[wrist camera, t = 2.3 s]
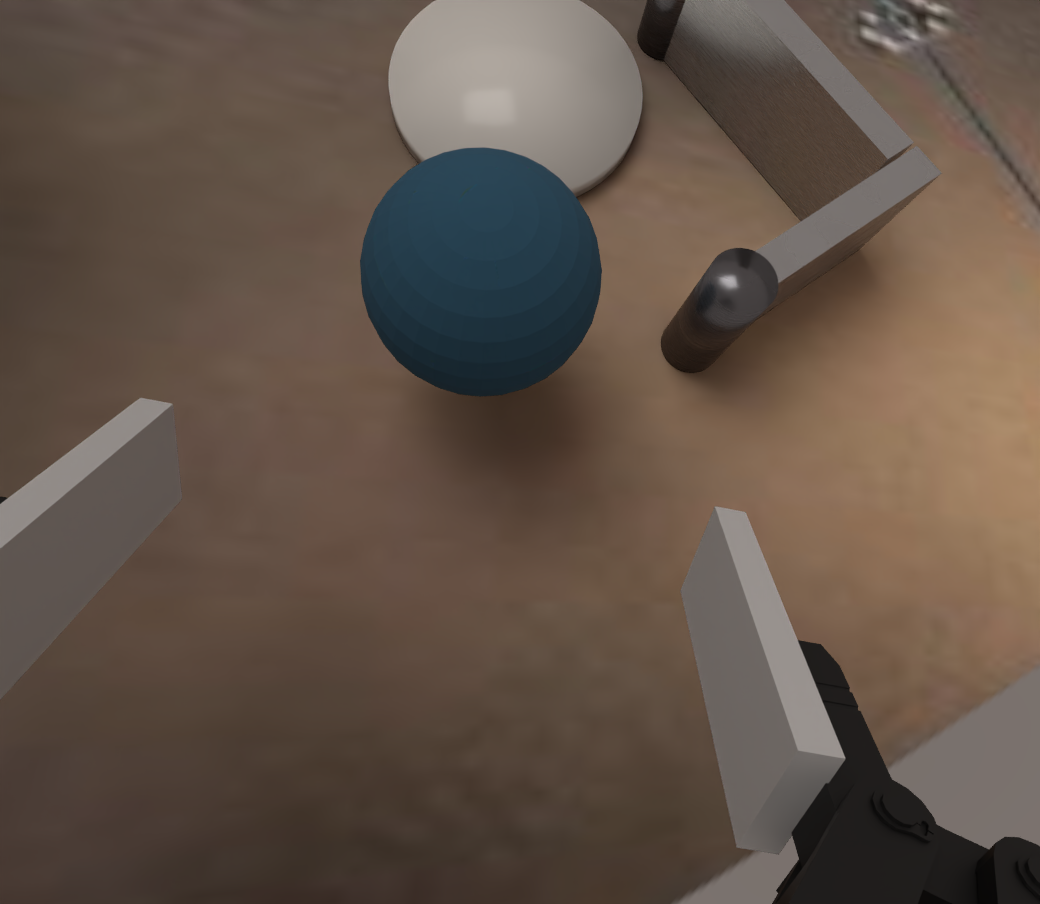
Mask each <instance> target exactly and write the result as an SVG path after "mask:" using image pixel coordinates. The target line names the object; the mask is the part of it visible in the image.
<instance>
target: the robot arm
mask: <svg viewBox="0 0 1040 904" xmlns="http://www.w3.org/2000/svg"><path fill="white" fill-rule="evenodd" d="M181 500H182V491H181V481H180V471H179V460H178V450H177V440H176V429H175V419H174V409H173V404H171V403H166V402H160V401H155V400H150V399H144V398H139V399H138V400H137V401H135V402H134V403H133V404H131V405H130V406H129V407H127V408H126V409H125V410H124V411H122V412H121V413H120V414H118V415H117V416H116V417H114V418H113V419H112V420H110V421H109V422H108V423H106V424H105V425H104V426H102V427H101V428H100V429H99V430H97V431H96V432H95V433H93V434H92V435H91V436H89V437H88V438H87V439H85V440H84V441H83V442H81V443H80V444H79V445H77V446H76V447H75V448H73V449H72V450H71V451H70V452H68V453H67V454H66V455H64V456H63V457H62V458H60V459H59V460H58V461H56V462H55V463H54V464H52V465H51V466H50V467H48V468H47V469H46V470H44V471H43V472H42V473H41V474H39V475H38V476H37V477H35V478H34V479H33V480H31V481H30V482H29V483H27V484H26V485H25V486H23V487H22V488H21V489H19V490H18V491H17V492H16V493H14V494H13V495H12V496H10V497H9V498H6V497H0V700H1V699H2V697H3V696H4V695H5V694H6V693H7V692H8V691H9V690H10V689H11V687H12V686H13V685H14V684H15V683H16V682H17V681H18V680H19V679H20V678H21V676H22V675H23V674H24V673H25V672H26V671H27V670H28V669H29V668H30V666H31V665H32V664H33V663H34V662H35V661H36V660H37V659H38V658H39V657H40V655H41V654H42V653H43V652H44V651H45V650H46V649H47V648H48V647H49V646H50V644H51V643H52V642H53V641H54V640H55V639H56V638H57V637H58V636H59V634H60V633H61V632H62V631H63V630H64V629H65V628H66V627H67V626H68V625H69V623H70V622H71V621H72V620H73V619H74V618H75V617H76V616H77V615H78V613H79V612H80V611H81V610H82V609H83V608H84V607H85V606H86V605H87V604H88V602H89V601H90V600H91V599H92V598H93V597H94V596H95V595H96V594H97V593H98V591H99V590H100V589H101V588H102V587H103V586H104V585H105V584H106V583H107V581H108V580H109V579H110V578H111V577H112V576H113V575H114V574H115V573H116V572H117V570H118V569H119V568H120V567H121V566H122V565H123V564H124V563H125V562H126V560H127V559H128V558H129V557H130V556H131V555H132V554H133V553H134V552H135V551H136V549H137V548H138V547H139V546H140V545H141V544H142V543H143V542H144V541H145V539H146V538H147V537H148V536H149V535H150V534H151V533H152V532H153V531H154V530H155V528H156V527H157V526H158V525H159V524H160V523H161V522H162V521H163V520H164V519H165V517H166V516H167V515H168V514H169V513H170V512H171V511H172V510H173V509H174V507H175V506H176V505H177V504H178V503H179V502H180V501H181ZM681 595H682V600H683V604H684V609H685V613H686V618H687V622H688V627H689V632H690V636H691V641H692V645H693V650H694V654H695V659H696V664H697V668H698V673H699V677H700V682H701V686H702V691H703V696H704V700H705V705H706V709H707V714H708V718H709V723H710V727H711V732H712V737H713V741H714V746H715V750H716V755H717V759H718V764H719V769H720V773H721V778H722V782H723V787H724V791H725V796H726V801H727V805H728V810H729V814H730V819H731V823H732V828H733V833H734V837H735V842H736V846H737V847H738V848H744V849H750V850H756V851H762V852H768V853H774V854H779V853H780V852H781V851H782V849H783V848H784V846H785V845H786V843H787V842H788V840H789V839H790V838H791V836H793V840H794V843H795V846H796V850H797V853H798V857H799V860H798V862H797V863H796V864H795V866H794V867H793V868H792V870H791V871H790V873H789V874H788V875H787V877H786V878H785V879H784V881H783V882H782V883H781V885H780V886H779V887H778V889H777V890H776V891H777V892H778V894H777V896H776V898H775V900H774V901H773V903H772V904H1040V846H1038V845H1036V844H1034V843H1032V842H1029V841H1026V840H1024V839H1021V838H1018V837H1004V838H1003V839H1001V840H1000V841H998V842H996V843H995V844H994V845H993V846H992V848H990V849H986V848H984V847H982V846H980V845H978V844H976V843H974V842H972V841H969V840H967V839H965V838H963V837H961V836H959V835H956V834H954V833H952V832H950V831H948V830H945V829H944V828H942V827H940V826H938V825H937V824H936V822H935V820H934V817H933V816H932V814H931V813H930V812H929V810H928V809H927V808H926V806H925V805H924V803H923V802H922V801H921V800H920V799H919V798H918V797H916V796H915V795H914V794H913V793H912V792H911V791H910V790H909V789H907V788H906V787H904V786H902V785H900V784H899V783H897V782H895V781H894V780H892V779H891V777H890V774H889V772H888V770H887V768H886V766H885V764H884V761H883V759H882V757H881V755H880V753H879V751H878V748H877V746H876V744H875V742H874V740H873V737H872V735H871V733H870V731H869V729H868V727H867V724H866V722H865V720H864V718H863V716H862V714H861V711H858V705H857V703H856V700H855V698H854V696H853V694H852V693H851V692H850V691H849V689H850V687H849V685H848V683H847V681H846V679H845V677H844V674H843V672H842V670H841V668H840V666H839V665H838V663H837V662H836V661H835V660H834V659H833V658H832V657H831V655H830V654H829V653H828V652H827V651H826V650H825V649H824V647H823V646H822V645H821V644H816V643H810V642H805V641H799V640H797V638H796V635H795V633H794V630H793V628H792V625H791V623H790V620H789V618H788V616H787V613H786V611H785V608H784V606H783V603H782V601H781V598H780V596H779V593H778V591H777V588H776V586H775V584H774V581H773V579H772V576H771V574H770V571H769V569H768V566H767V564H766V561H765V559H764V556H763V554H762V552H761V549H760V547H759V544H758V542H757V539H756V537H755V534H754V532H753V529H752V527H751V524H750V522H749V520H748V517H747V515H746V512H742V511H737V510H732V509H726V508H721V507H716V506H715V507H714V510H713V512H712V515H711V517H710V520H709V522H708V524H707V527H706V529H705V532H704V534H703V537H702V539H701V542H700V544H699V547H698V549H697V551H696V554H695V556H694V559H693V561H692V564H691V566H690V569H689V571H688V573H687V576H686V578H685V581H684V583H683V586H682V588H681Z"/></svg>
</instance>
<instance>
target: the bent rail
mask: <svg viewBox="0 0 1040 904" xmlns="http://www.w3.org/2000/svg"><path fill="white" fill-rule="evenodd" d="M637 39H638V43H639V45H640V47H641V48H642V50H643V51H644V52H645V53H646V54H648V55H649V56H651V57H653V58H656V59H659V60H664V61H665V62H666V63H667V65H668V66H669V67H670V68H671V69H672V70H673V72H674V73H675V74H676V75H677V76H678V77H679V79H680V80H681V81H682V82H683V83H684V84H685V86H686V87H687V88H688V89H689V90H690V91H691V93H692V94H693V95H694V96H695V97H696V98H697V100H698V101H699V102H700V103H701V104H702V105H703V107H704V108H705V109H706V110H707V111H708V112H709V114H710V115H711V116H712V117H713V118H714V119H715V121H716V122H717V123H718V124H719V125H720V126H721V128H722V129H723V130H724V131H725V132H726V133H727V135H728V136H729V137H730V138H731V139H732V141H733V142H734V143H735V144H736V145H737V146H738V148H739V149H740V150H741V151H742V152H743V153H744V155H745V156H746V157H747V158H748V159H749V160H750V162H751V163H752V164H753V165H754V166H755V167H756V169H757V170H758V171H759V172H760V173H761V174H762V176H763V177H764V178H765V179H766V180H767V181H768V183H769V184H770V185H771V186H772V187H773V188H774V190H775V191H776V192H777V193H778V194H779V195H780V197H781V198H782V199H783V200H784V201H785V202H786V204H787V205H788V206H789V207H790V208H791V209H792V211H793V212H794V213H795V214H796V215H797V216H798V218H799V219H800V220H801V222H800V223H798V224H796V225H795V226H793V227H792V228H790V229H789V230H787V231H786V232H784V233H783V234H781V235H780V236H778V237H777V238H775V239H773V240H772V241H770V242H769V243H767V244H766V245H764V246H763V247H761V248H760V249H758V250H757V251H752V250H749V249H744V248H734V249H729V250H727V251H724V252H722V253H721V254H720V255H718V256H717V257H716V258H715V260H714V261H713V262H712V264H711V265H710V267H709V268H708V269H707V271H706V272H705V274H704V275H703V276H702V278H701V279H700V281H699V282H698V284H697V285H696V286H695V288H694V289H693V291H692V292H691V294H690V295H689V296H688V298H687V299H686V301H685V302H684V303H683V305H682V306H681V308H680V309H679V311H678V312H677V313H676V315H675V316H674V318H673V319H672V320H671V322H670V323H669V325H668V326H667V328H666V329H665V330H664V332H663V335H662V338H661V348H662V352H663V354H664V356H665V358H666V359H667V361H668V362H669V363H670V364H671V365H672V366H674V367H675V368H677V369H679V370H681V371H684V372H689V373H695V372H700V371H703V370H705V369H706V368H708V367H709V366H710V365H711V364H712V363H713V362H714V361H715V360H716V359H717V358H718V357H719V356H720V355H721V354H722V353H723V352H724V351H725V350H726V349H727V348H728V347H729V346H730V345H731V344H732V343H733V342H734V341H735V340H736V339H737V338H738V337H739V336H740V335H741V334H742V333H743V332H744V331H745V330H746V329H747V328H748V327H749V326H750V325H751V324H752V323H753V322H754V321H755V320H756V319H758V318H759V317H761V316H762V315H764V314H765V313H767V312H768V311H770V310H771V309H773V308H774V307H776V306H777V305H778V304H780V303H781V302H783V301H784V300H786V299H787V298H789V297H790V296H792V295H793V294H795V293H796V292H798V291H799V290H800V289H802V288H803V287H805V286H806V285H808V284H809V283H811V282H812V281H814V280H815V279H817V278H818V277H820V276H821V275H822V274H824V273H825V272H827V271H828V270H830V269H831V268H833V267H834V266H836V265H837V264H839V263H840V262H841V261H843V260H844V259H846V258H847V257H849V256H850V255H852V254H853V253H855V252H856V251H858V250H859V249H860V248H862V247H863V246H864V245H865V244H866V243H867V242H868V241H869V240H870V239H871V238H872V237H873V236H874V235H876V234H877V233H878V232H879V231H880V230H881V229H882V228H883V227H884V226H885V225H886V224H887V223H889V222H890V221H891V220H892V219H893V218H894V217H895V216H896V215H897V214H898V213H899V212H900V211H901V210H903V209H904V208H905V207H906V206H907V205H908V204H909V203H910V202H911V201H912V200H913V199H914V198H916V197H917V196H918V195H919V194H920V193H921V192H922V191H923V190H924V189H925V188H926V187H927V186H929V185H930V184H931V183H932V182H933V181H934V180H935V179H936V178H937V177H938V176H939V175H940V174H941V172H940V171H939V170H938V169H937V167H936V166H935V165H934V164H933V163H932V162H931V161H930V160H929V159H928V158H927V156H926V155H925V154H924V153H923V152H922V151H921V150H920V149H919V148H918V147H917V146H916V147H914V148H913V149H911V150H910V151H908V152H907V153H905V154H904V155H902V154H903V153H904V152H905V151H906V150H907V149H908V148H909V147H910V146H911V145H912V144H913V143H914V142H913V141H912V140H911V139H910V138H909V137H908V136H907V135H906V133H905V132H904V131H903V130H902V129H901V128H900V127H899V126H898V125H897V124H896V122H895V121H894V120H893V119H892V118H891V117H890V116H889V115H888V114H887V113H886V112H885V110H884V109H883V108H882V107H881V106H880V105H879V104H878V103H877V102H876V101H875V99H874V98H873V97H872V96H871V95H870V94H869V93H868V92H867V91H866V90H865V89H864V87H863V86H862V85H861V84H860V83H859V82H858V81H857V80H856V79H855V78H854V76H853V75H852V74H851V73H850V72H849V71H848V70H847V69H846V68H845V67H844V65H843V64H842V63H841V62H840V61H839V60H838V59H837V58H836V57H835V56H834V55H833V53H832V52H831V51H830V50H829V49H828V48H827V47H826V46H825V45H824V44H823V42H822V41H821V40H820V39H819V38H818V37H817V36H816V35H815V34H814V33H813V32H812V30H811V29H810V28H809V27H808V26H807V25H806V24H805V23H804V22H803V21H802V19H801V18H800V17H799V16H798V15H797V14H796V13H795V12H794V11H793V10H792V8H791V7H790V6H789V5H788V4H787V3H786V2H785V1H784V0H647V3H646V6H645V10H644V13H643V16H642V20H641V23H640V27H639V30H638V34H637ZM901 155H902V156H901Z"/></svg>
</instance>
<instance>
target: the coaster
mask: <svg viewBox="0 0 1040 904" xmlns="http://www.w3.org/2000/svg"><path fill="white" fill-rule="evenodd" d="M389 93H390V100H391V107H392V114H393V118H394V121H395V124H396V128H397V130H398V132H399V134H400V137H401V139H402V141H403V143H404V144H405V146H406V147H407V149H408V150H409V152H410V153H411V155H412V156H413V157H414V158H415V159H416V161H417V162H418V163H419V164H420V163H421V162H423V161H424V160H426V159H429V158H431V157H434V156H436V155H439V154H441V153H444V152H448V151H453V150H457V149H462V148H483V147H485V148H493V149H500V150H506V151H509V152H513V153H516V154H519V155H522V156H525V157H527V158H529V159H531V160H533V161H535V162H537V163H539V164H541V165H543V166H544V167H546V168H547V169H548V170H550V171H551V172H552V173H554V174H555V175H556V176H558V177H559V178H560V179H561V180H562V181H563V182H564V184H565V185H566V186H567V187H568V188H569V189H570V190H571V191H572V192H573V194H574V195H575V196H576V197H577V196H579V195H581V194H583V193H585V192H587V191H589V190H591V189H592V188H594V187H595V186H597V185H598V184H600V183H601V182H602V181H604V180H605V179H606V178H607V177H608V176H609V175H610V174H611V173H612V172H613V171H614V170H615V169H616V168H617V166H618V165H619V164H620V163H621V161H622V160H623V158H624V156H625V155H626V153H627V151H628V150H629V147H630V145H631V142H632V140H633V137H634V135H635V132H636V129H637V126H638V123H639V119H640V115H641V111H642V99H643V93H642V82H641V78H640V74H639V69H638V67H637V64H636V62H635V59H634V56H633V54H632V53H631V51H630V49H629V47H628V45H627V44H626V42H625V41H624V39H623V38H622V37H621V35H620V34H619V33H618V31H617V30H616V29H615V28H614V27H613V26H612V25H611V24H610V23H609V22H608V21H607V20H606V19H605V18H604V17H602V16H601V15H600V14H599V13H598V12H596V11H595V10H594V9H592V8H591V7H589V6H587V5H586V4H584V3H583V2H581V1H579V0H436V1H434V2H432V3H431V4H430V5H428V6H427V7H426V8H424V9H423V10H422V11H421V12H420V13H419V14H418V15H417V16H416V17H415V18H414V19H412V20H411V22H410V23H409V24H408V26H407V27H406V28H405V30H404V31H403V32H402V34H401V36H400V38H399V40H398V42H397V43H396V46H395V49H394V51H393V54H392V57H391V62H390V67H389Z"/></svg>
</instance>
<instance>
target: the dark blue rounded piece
mask: <svg viewBox="0 0 1040 904" xmlns="http://www.w3.org/2000/svg"><path fill="white" fill-rule="evenodd" d="M360 265H361V284H362V294H363V298H364V302H365V305H366V309H367V312H368V316H369V318H370V320H371V322H372V324H373V325H374V327H375V329H376V331H377V333H378V335H379V337H380V339H381V340H382V342H383V344H384V345H385V346H386V348H387V349H388V350H389V351H390V352H391V354H392V355H393V356H394V357H395V358H396V360H397V361H398V362H399V363H401V364H402V365H403V366H404V367H405V368H407V369H408V370H409V371H410V372H412V373H413V374H414V375H415V376H417V377H419V378H421V379H423V380H425V381H427V382H428V383H430V384H432V385H434V386H436V387H438V388H441V389H444V390H447V391H451V392H454V393H457V394H462V395H471V396H480V397H481V396H494V395H503V394H507V393H510V392H514V391H518V390H521V389H525V388H527V387H529V386H531V385H533V384H535V383H537V382H539V381H541V380H543V379H545V378H547V377H548V376H549V375H550V374H552V373H553V372H554V371H556V370H557V369H558V368H560V367H561V366H562V365H563V364H564V363H565V362H566V361H567V359H568V358H569V357H570V356H571V355H572V354H573V352H574V351H575V350H576V349H577V347H578V346H579V345H580V343H581V342H582V340H583V338H584V337H585V335H586V333H587V331H588V329H589V327H590V326H591V324H592V321H593V318H594V314H595V311H596V307H597V304H598V300H599V295H600V288H601V273H602V269H601V262H600V255H599V249H598V243H597V238H596V235H595V232H594V230H593V227H592V224H591V221H590V219H589V217H588V215H587V214H586V212H585V210H584V209H583V207H582V206H581V204H580V202H579V201H578V199H577V198H576V196H575V195H574V194H573V192H572V191H571V190H570V189H569V188H568V187H567V186H566V185H565V184H564V182H563V181H562V180H561V179H560V178H559V177H558V176H556V175H555V174H554V173H552V172H551V171H550V170H548V169H547V168H546V167H544V166H543V165H541V164H539V163H537V162H535V161H533V160H531V159H529V158H527V157H525V156H522V155H519V154H516V153H513V152H509V151H506V150H500V149H493V148H485V147H483V148H462V149H457V150H453V151H448V152H444V153H441V154H439V155H436V156H434V157H431V158H429V159H426V160H424V161H423V162H421V163H420V164H418V165H416V166H415V167H413V168H412V169H410V170H409V171H408V172H407V173H406V174H404V175H403V176H402V177H401V178H400V179H399V180H398V181H397V182H396V183H395V184H394V185H393V186H392V187H391V188H390V189H389V190H388V191H387V193H386V194H385V196H384V197H383V199H382V200H381V202H380V203H379V204H378V206H377V207H376V209H375V211H374V214H373V216H372V219H371V221H370V223H369V226H368V228H367V232H366V235H365V238H364V242H363V248H362V254H361V260H360Z"/></svg>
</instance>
